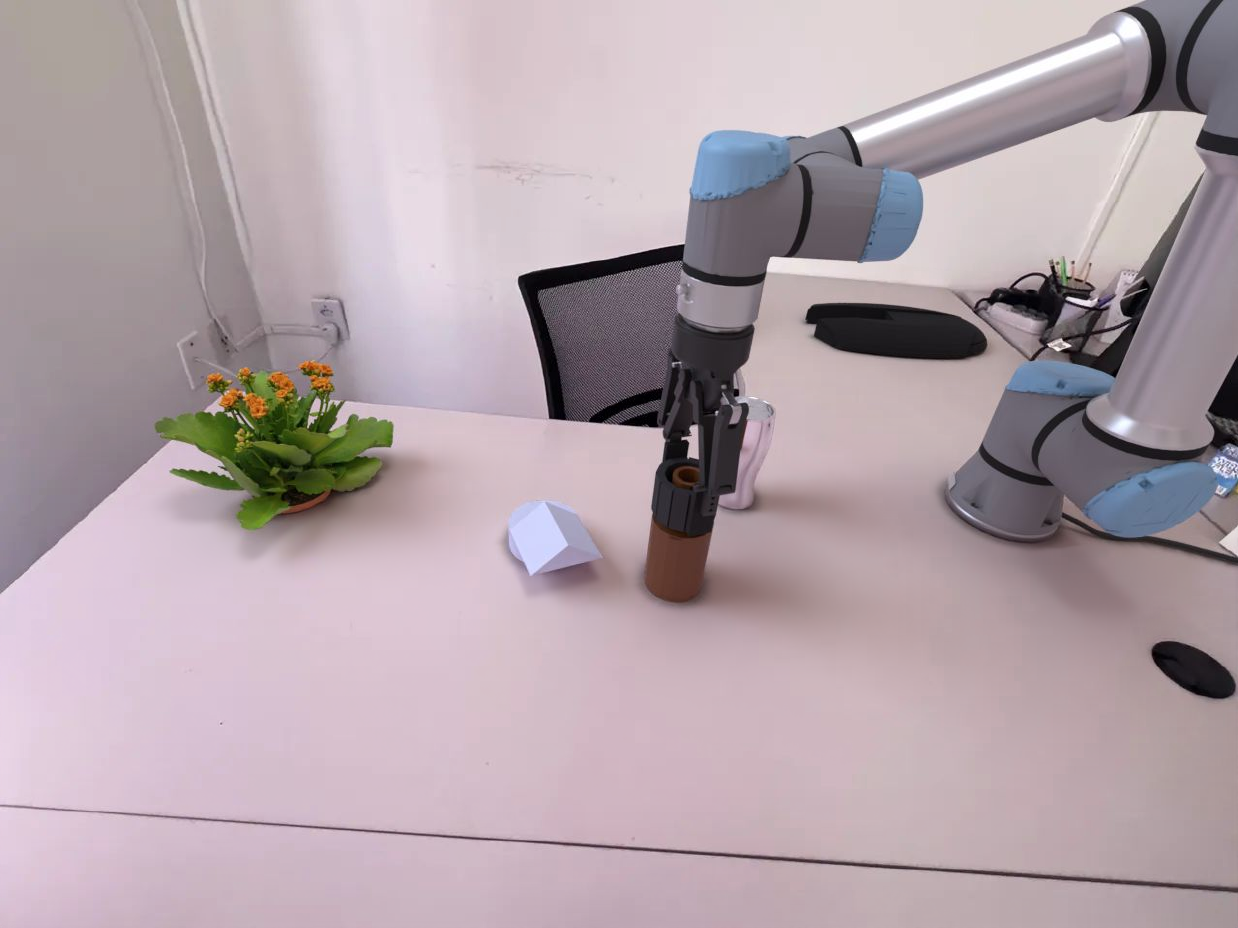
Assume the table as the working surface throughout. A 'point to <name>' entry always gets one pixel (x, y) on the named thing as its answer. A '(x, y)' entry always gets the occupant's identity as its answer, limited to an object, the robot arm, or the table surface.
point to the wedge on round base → (549, 537)
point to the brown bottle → (676, 552)
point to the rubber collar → (672, 495)
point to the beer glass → (751, 451)
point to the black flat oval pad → (895, 330)
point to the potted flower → (279, 443)
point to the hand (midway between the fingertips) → (683, 509)
